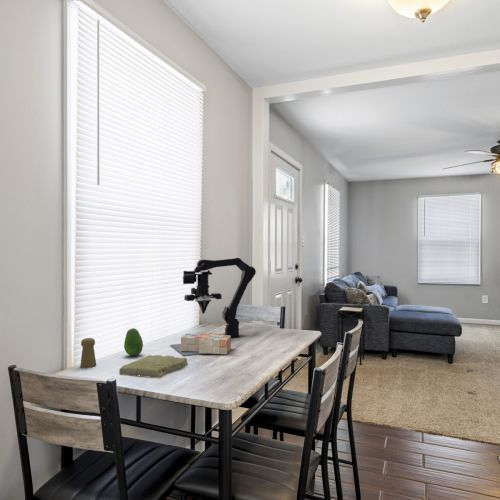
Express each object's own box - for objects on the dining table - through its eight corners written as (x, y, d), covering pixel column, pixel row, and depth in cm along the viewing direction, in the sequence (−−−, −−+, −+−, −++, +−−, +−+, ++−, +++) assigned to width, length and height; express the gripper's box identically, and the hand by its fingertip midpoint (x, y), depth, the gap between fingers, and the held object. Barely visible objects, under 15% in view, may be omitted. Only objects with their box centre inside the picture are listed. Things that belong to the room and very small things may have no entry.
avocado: (126, 354, 182) (126, 327, 183) (144, 353, 183) (144, 326, 183) (122, 358, 175) (122, 330, 175) (141, 357, 175) (140, 329, 175)
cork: (86, 368, 159) (86, 340, 159) (76, 366, 163) (76, 339, 163) (99, 365, 164) (99, 337, 165) (90, 363, 168) (89, 336, 168)
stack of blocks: (185, 346, 192) (178, 352, 180) (186, 333, 192) (178, 338, 180) (230, 348, 190) (226, 354, 177) (231, 335, 190) (226, 340, 178)
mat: (193, 343, 203) (193, 342, 203) (209, 353, 182) (209, 352, 182) (169, 345, 197) (169, 344, 197) (183, 356, 177) (183, 355, 177)
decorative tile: (118, 375, 152) (118, 365, 152) (149, 361, 171) (149, 353, 171) (162, 380, 145) (162, 370, 145) (189, 365, 164) (189, 356, 164)
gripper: (214, 281, 225) (214, 310, 225) (181, 283, 217) (181, 312, 217) (221, 283, 215) (222, 312, 215) (187, 284, 207) (187, 315, 207)
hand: (203, 313), depth 214 cm, fingers closed
